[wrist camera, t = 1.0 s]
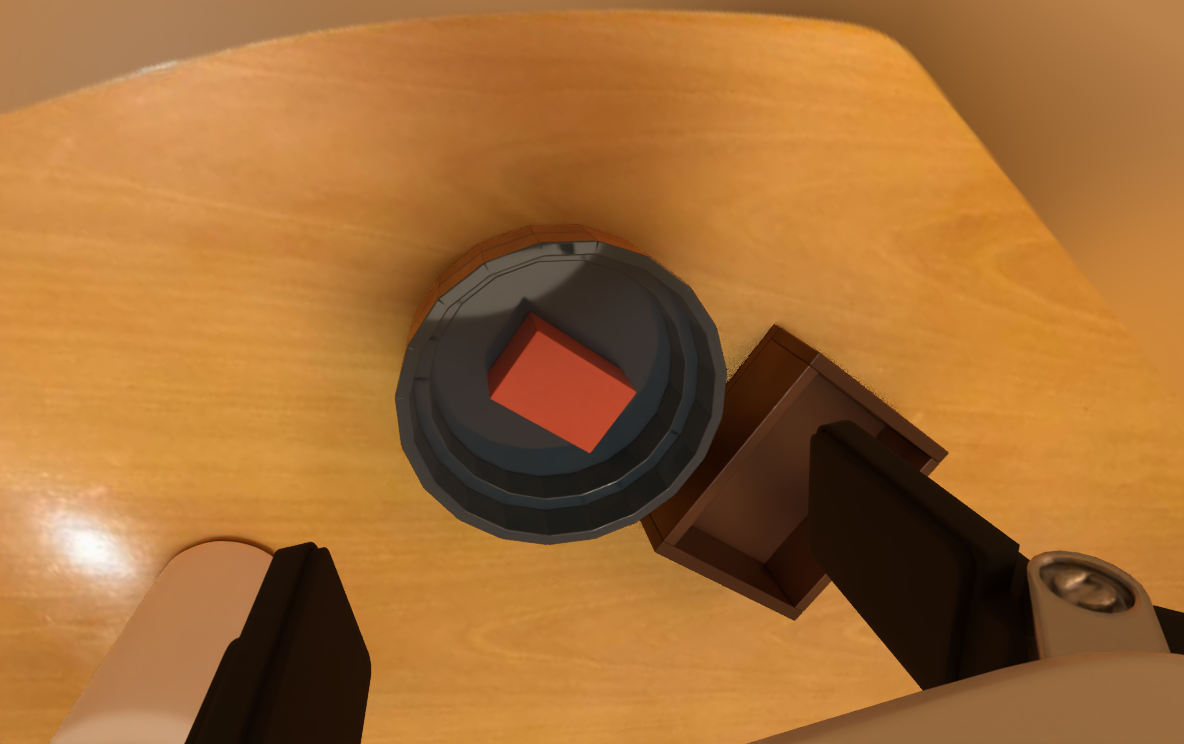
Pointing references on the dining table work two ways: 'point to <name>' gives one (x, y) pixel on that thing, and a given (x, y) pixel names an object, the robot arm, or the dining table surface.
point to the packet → (559, 384)
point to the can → (169, 649)
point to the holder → (772, 474)
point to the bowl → (519, 446)
